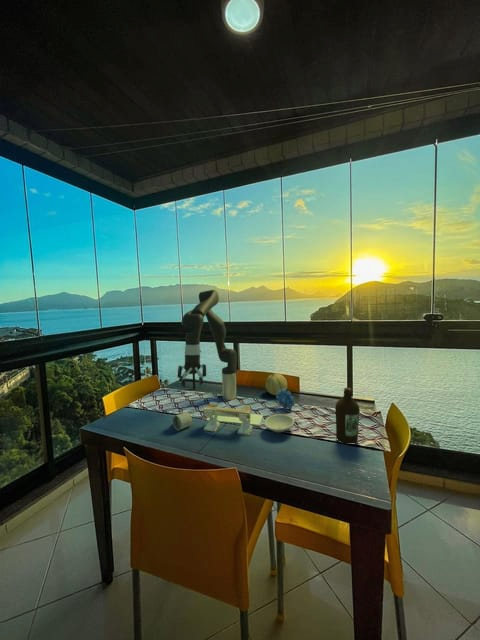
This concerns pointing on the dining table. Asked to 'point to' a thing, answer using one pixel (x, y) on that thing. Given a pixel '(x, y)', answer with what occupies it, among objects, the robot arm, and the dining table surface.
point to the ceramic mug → (182, 421)
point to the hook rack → (214, 423)
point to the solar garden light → (193, 380)
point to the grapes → (285, 399)
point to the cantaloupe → (275, 383)
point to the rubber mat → (254, 419)
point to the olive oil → (347, 418)
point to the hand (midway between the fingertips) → (192, 385)
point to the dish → (279, 422)
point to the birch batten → (228, 412)
